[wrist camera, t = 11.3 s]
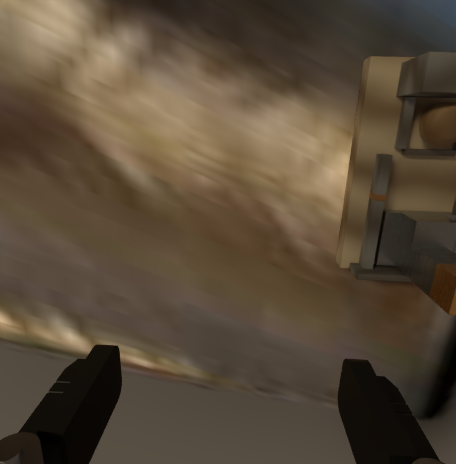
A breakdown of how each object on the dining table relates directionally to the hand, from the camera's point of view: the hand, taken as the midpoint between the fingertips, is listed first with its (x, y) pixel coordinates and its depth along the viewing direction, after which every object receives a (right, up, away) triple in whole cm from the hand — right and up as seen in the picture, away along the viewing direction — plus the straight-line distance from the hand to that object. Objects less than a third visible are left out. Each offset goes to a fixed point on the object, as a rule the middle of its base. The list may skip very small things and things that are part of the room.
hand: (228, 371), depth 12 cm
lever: (+20, +4, +25) cm, 32 cm away
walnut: (+20, +16, +21) cm, 34 cm away
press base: (+20, +12, +25) cm, 34 cm away
